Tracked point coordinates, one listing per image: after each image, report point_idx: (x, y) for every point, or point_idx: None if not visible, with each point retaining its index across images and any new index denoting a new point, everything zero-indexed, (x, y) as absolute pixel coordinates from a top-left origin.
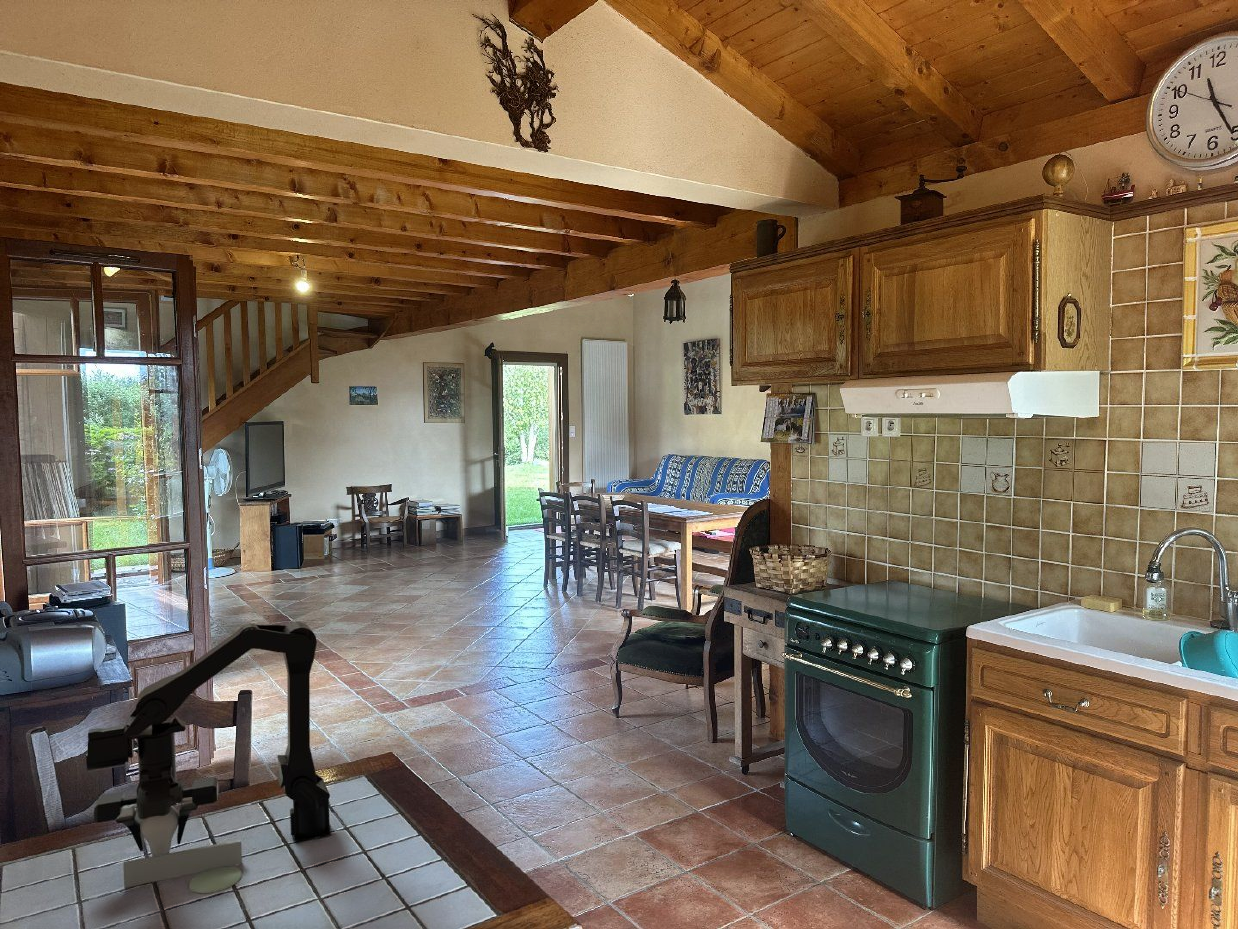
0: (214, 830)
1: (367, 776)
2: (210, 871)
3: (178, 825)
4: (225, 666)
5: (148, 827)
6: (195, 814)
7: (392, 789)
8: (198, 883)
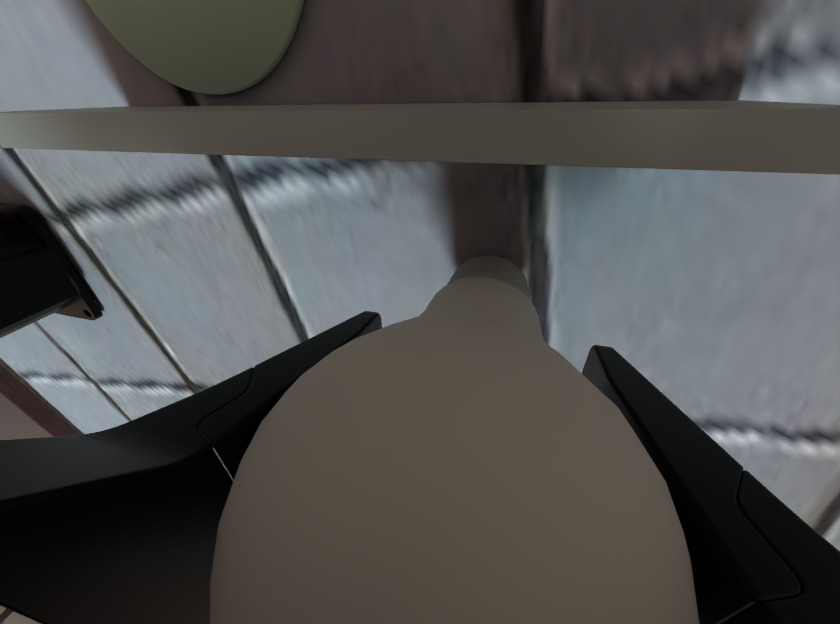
0: None
1: None
2: (229, 59)
3: (280, 390)
4: None
5: (592, 471)
6: None
7: (8, 378)
8: None
